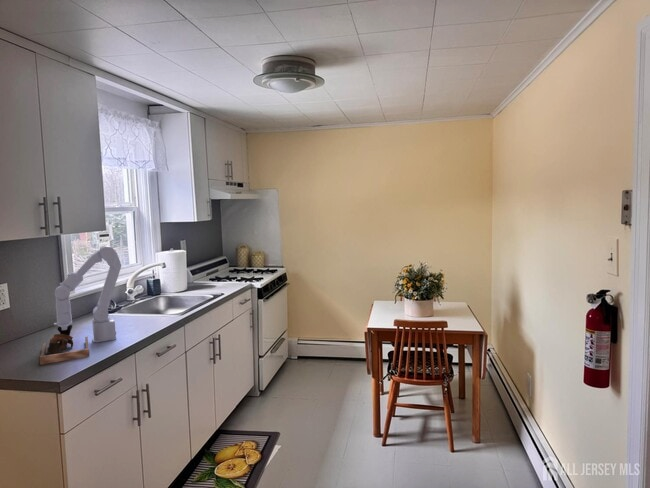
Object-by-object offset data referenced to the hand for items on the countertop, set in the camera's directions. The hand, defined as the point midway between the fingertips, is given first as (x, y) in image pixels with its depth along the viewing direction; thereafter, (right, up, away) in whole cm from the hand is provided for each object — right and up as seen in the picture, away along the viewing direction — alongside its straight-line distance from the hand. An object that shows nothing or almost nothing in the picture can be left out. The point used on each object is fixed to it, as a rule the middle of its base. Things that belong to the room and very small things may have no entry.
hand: (66, 342), depth 195 cm
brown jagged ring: (+2, -2, -7) cm, 8 cm away
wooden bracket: (+6, -2, -10) cm, 11 cm away
